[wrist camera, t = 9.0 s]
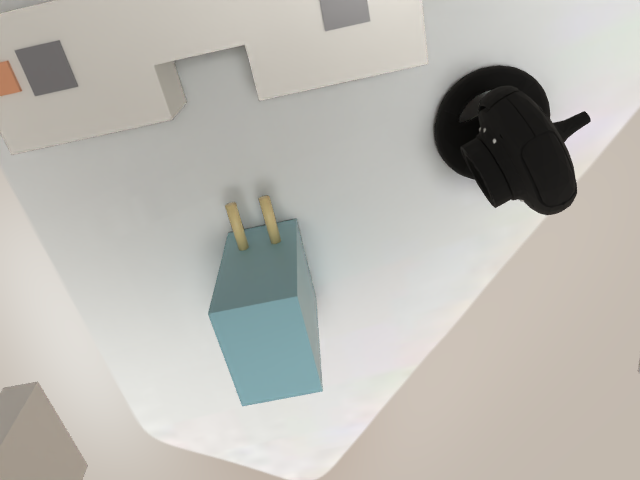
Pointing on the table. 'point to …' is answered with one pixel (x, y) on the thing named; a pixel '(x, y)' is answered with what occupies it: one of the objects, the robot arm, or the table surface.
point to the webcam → (509, 140)
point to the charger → (267, 310)
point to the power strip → (181, 56)
